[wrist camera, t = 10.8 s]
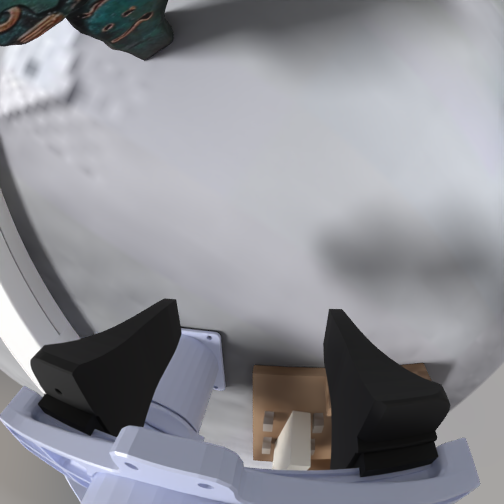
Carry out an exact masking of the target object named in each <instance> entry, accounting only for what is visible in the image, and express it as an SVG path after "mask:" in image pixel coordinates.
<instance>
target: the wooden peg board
mask: <svg viewBox="0 0 504 504" xmlns="http://www.w3.org/2000/svg"><path fill="white" fill-rule="evenodd" d="M401 366H402V367H404V368H405V369H407V370H409V371H411V372H413V373H415V374H417V375H419V376H421V377H423V378H425V379H428V380H430V381H431V379H430V376H429V374H428V372H427V370H426V368H425V365H424V363H417V364H406V365H401ZM292 411H299V412H307V413H310V415H311V467H310V468H309V469H308V470H330V462H331V430H332V423H331V401H330V394H329V388H328V382H327V376H326V370H325V368H306V367H280V366H263V365H254V368H253V460H258V461H271V462H273V457H274V448H275V442H276V440H277V438H278V437H279V435H280V433H281V431H282V430H283V428H284V426H285V424H286V422H287V421H288V419H289V417H290V415H291V413H292Z"/></svg>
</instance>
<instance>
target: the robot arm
mask: <svg viewBox="0 0 504 504" xmlns="http://www.w3.org/2000/svg"><path fill="white" fill-rule="evenodd" d="M208 336H211V337H208ZM323 345H324V364H325V370H326V376H327V382H328V388H329V394H330V401H331V423H332V430H331V462H330V470H272V469H258V468H248V467H244V466H243V461H242V460H241V458H240V457H239V455H238V454H237V453H235V452H233V451H231V450H230V449H228V448H226V447H223V446H220V445H216V444H212V443H208V442H203V441H204V437H203V436H201V435H199V430H200V427H201V424H202V421H203V418H204V415H205V412H206V408H207V405H208V402H209V399H210V396H211V393H212V389H213V390H220V391H223V390H225V387H226V384H225V374H224V365H223V354H222V344H221V336H220V334H219V333H217V332H211V331H202V330H193V329H185V328H181V326H180V320H179V314H178V308H177V302H176V300H175V299H163V300H161V301H159V302H157V303H155V304H154V305H152V306H150V307H149V308H147V309H146V310H144V311H142V312H141V313H139V314H137V315H136V316H134V317H132V318H130V319H128V320H126V321H125V322H123V323H121V324H119V325H117V326H115V327H113V328H111V329H108V330H106V331H103V332H101V333H98V334H95V335H92V336H89V337H86V338H83V339H79V340H74V341H70V342H64V343H57V344H49V345H44V346H43V347H42V348H41V349H40V350H39V351H38V352H37V353H36V354H35V355H34V356H33V358H32V359H31V360H30V365H31V369H32V371H33V373H34V375H35V377H36V379H37V380H38V382H39V384H40V385H41V387H42V388H43V390H44V392H45V393H46V394H45V395H44V396H43V398H42V397H41V396H40V395H39V394H38V393H37V392H35V391H33V390H31V389H30V388H28V387H26V386H23V387H22V389H21V390H20V391H19V392H18V393H17V395H16V396H15V397H14V398H13V399H12V401H11V402H10V403H9V404H8V405H7V407H6V408H5V409H4V410H3V412H2V413H1V414H0V420H1V421H2V423H3V424H4V425H5V426H6V427H7V429H8V430H9V431H10V432H11V433H12V434H13V435H14V436H15V437H16V438H17V440H18V441H19V442H20V443H21V444H22V445H23V446H24V447H25V448H26V449H27V450H29V451H30V452H32V453H33V454H34V455H36V456H37V457H39V458H40V459H41V460H43V461H44V462H46V463H47V464H49V465H50V466H52V467H53V468H55V469H56V470H58V471H59V472H61V473H62V474H64V475H65V478H66V479H67V481H68V483H69V485H70V486H71V488H72V490H73V491H74V493H75V494H76V496H77V498H78V499H79V501H80V502H81V504H454V503H456V502H457V501H459V500H460V499H462V498H463V497H465V496H466V495H468V494H469V493H470V492H472V491H473V490H475V489H476V488H477V487H479V485H480V481H479V477H478V474H477V470H476V467H475V464H474V461H473V458H472V455H471V452H470V449H469V446H468V443H467V441H466V438H461V439H457V440H454V441H450V442H447V443H444V444H441V445H440V446H438V447H437V448H436V447H435V443H434V441H436V440H437V435H436V432H435V430H436V429H437V428H438V426H439V425H440V424H441V422H442V421H443V420H444V418H445V417H446V415H447V413H448V412H449V409H450V403H449V400H448V398H447V395H446V393H445V391H444V389H443V387H442V385H440V384H438V383H435V382H433V381H430V380H428V379H425V378H423V377H421V376H419V375H417V374H415V373H413V372H411V371H409V370H407V369H405V368H404V367H402V366H401V365H399V364H398V363H396V362H394V361H393V360H392V359H390V358H389V357H388V356H386V355H385V354H384V353H383V352H381V351H380V350H379V349H378V348H377V347H376V346H375V345H373V344H372V343H371V342H370V341H369V340H368V339H367V338H366V337H365V336H364V335H363V333H362V332H361V331H360V330H359V329H358V328H357V327H356V325H355V324H354V323H353V322H352V321H351V319H350V318H349V317H348V316H347V315H346V313H345V312H344V311H343V310H342V309H329V313H328V320H327V326H326V332H325V338H324V343H323Z"/></svg>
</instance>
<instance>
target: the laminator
mask: <svg viewBox="0 0 504 504" xmlns="http://www.w3.org/2000/svg"><path fill="white" fill-rule="evenodd" d="M0 337H1V339H2V340H3V342H4V343H5V345H6V346H7V347H8V349H9V350H10V352H11V353H12V355H13V356H14V357H15V359H16V360H17V361H18V363H19V364H20V365H21V367H22V368H23V369H24V371H25V372H26V373H27V374H28V376H29V377H30V378H31V379H32V381H33V382H34V383H35V384H36V385H37V387H38V388H39V389H40V390H41V391H42V392H43V393H44V394H46V393H45V392H44V390H43V388H42V387H41V385H40V384H39V382H38V380H37V379H36V377H35V375H34V373H33V371H32V369H31V365H30V360H31V359H32V358H33V356H34V355H35V354H36V353H37V352H38V351H39V350H40V349H41V348H42V347H43V346H44V345H49V344H57V343H64V342H70V341H74V340H79V339H80V337H79V336H78V335H77V333H76V332H75V330H74V329H73V328H72V326H71V325H70V323H69V322H68V320H67V319H66V317H65V316H64V314H63V313H62V311H61V310H60V308H59V307H58V305H57V304H56V302H55V300H54V299H53V297H52V296H51V294H50V292H49V291H48V289H47V287H46V285H45V284H44V282H43V280H42V278H41V277H40V275H39V273H38V271H37V269H36V268H35V266H34V264H33V262H32V260H31V258H30V256H29V254H28V252H27V250H26V248H25V246H24V244H23V242H22V240H21V238H20V235H19V233H18V231H17V229H16V226H15V224H14V222H13V219H12V217H11V215H10V212H9V210H8V207H7V204H6V202H5V199H4V196H3V194H2V191H1V188H0Z"/></svg>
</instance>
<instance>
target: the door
mask: <svg viewBox="0 0 504 504" xmlns="http://www.w3.org/2000/svg"><path fill="white" fill-rule="evenodd" d="M310 467H311V415H310V413H307V412H299V411H292V413H291V415H290V417H289V419H288V421H287V422H286V424H285V426H284V428H283V430H282V431H281V433H280V435H279V437H278V438H277V440H276V442H275V448H274V457H273V467H272V470H308V469H309V468H310Z"/></svg>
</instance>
